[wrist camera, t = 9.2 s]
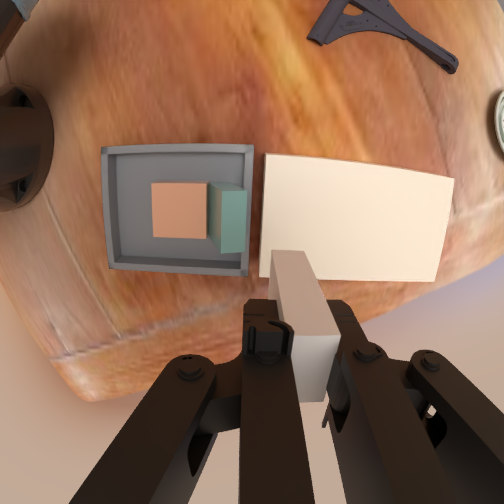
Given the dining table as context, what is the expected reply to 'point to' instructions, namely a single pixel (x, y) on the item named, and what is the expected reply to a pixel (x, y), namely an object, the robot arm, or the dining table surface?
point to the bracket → (375, 27)
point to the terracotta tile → (180, 208)
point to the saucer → (500, 119)
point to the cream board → (354, 217)
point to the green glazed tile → (227, 216)
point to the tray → (140, 205)
